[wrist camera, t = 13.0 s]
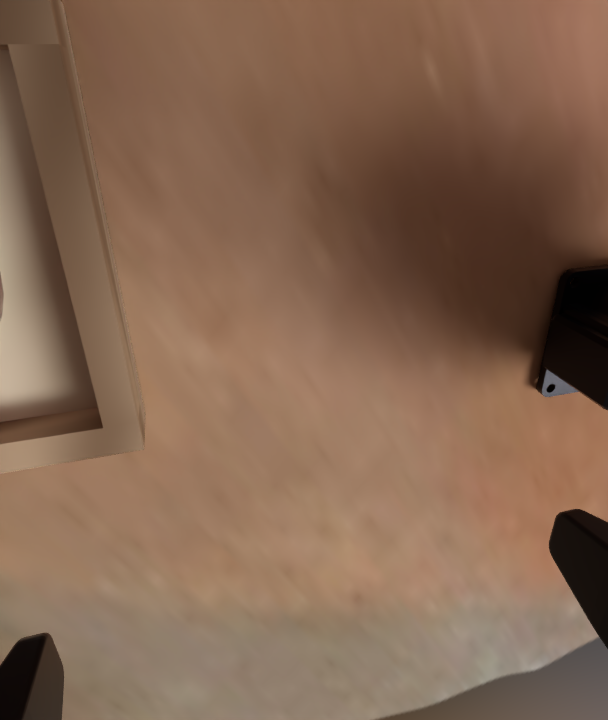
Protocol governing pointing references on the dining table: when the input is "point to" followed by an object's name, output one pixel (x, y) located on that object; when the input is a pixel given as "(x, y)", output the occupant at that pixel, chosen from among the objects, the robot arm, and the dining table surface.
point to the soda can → (1, 297)
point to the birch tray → (56, 262)
